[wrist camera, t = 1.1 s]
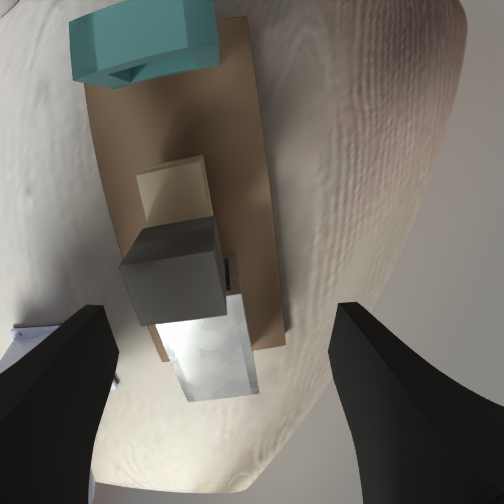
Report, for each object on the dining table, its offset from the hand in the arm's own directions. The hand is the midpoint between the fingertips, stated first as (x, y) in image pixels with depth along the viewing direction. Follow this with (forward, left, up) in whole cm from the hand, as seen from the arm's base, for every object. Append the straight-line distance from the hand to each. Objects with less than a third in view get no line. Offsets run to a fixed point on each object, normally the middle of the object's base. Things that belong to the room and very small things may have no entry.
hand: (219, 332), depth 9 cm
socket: (-2, +11, -11) cm, 15 cm away
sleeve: (-2, -6, -11) cm, 12 cm away
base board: (-2, +1, -12) cm, 12 cm away
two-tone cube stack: (-2, -3, -10) cm, 10 cm away
